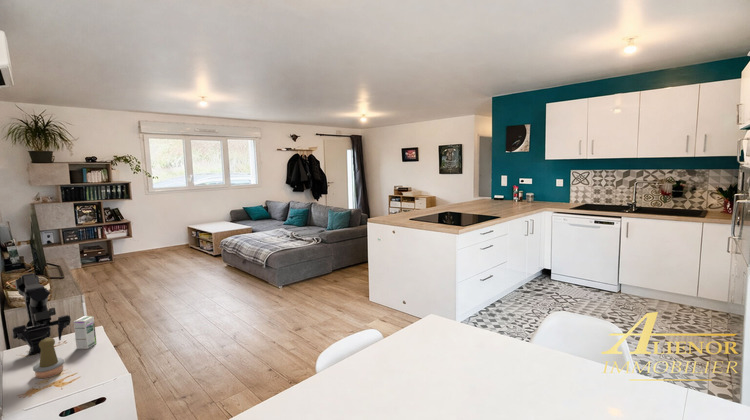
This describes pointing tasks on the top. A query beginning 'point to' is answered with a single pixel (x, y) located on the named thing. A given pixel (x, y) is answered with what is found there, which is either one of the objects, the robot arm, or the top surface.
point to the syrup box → (85, 332)
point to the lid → (40, 369)
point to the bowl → (49, 372)
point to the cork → (47, 353)
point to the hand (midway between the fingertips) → (46, 343)
